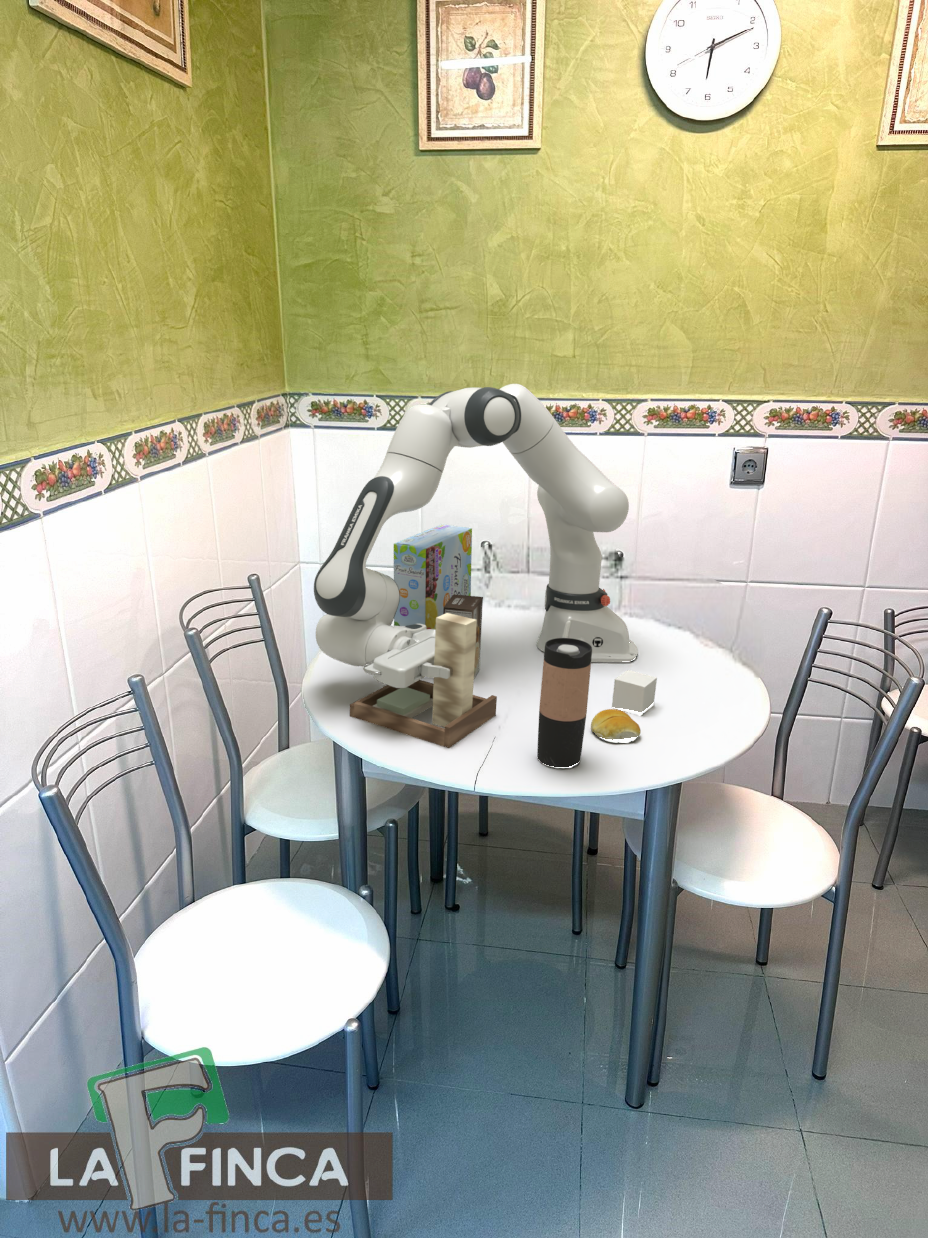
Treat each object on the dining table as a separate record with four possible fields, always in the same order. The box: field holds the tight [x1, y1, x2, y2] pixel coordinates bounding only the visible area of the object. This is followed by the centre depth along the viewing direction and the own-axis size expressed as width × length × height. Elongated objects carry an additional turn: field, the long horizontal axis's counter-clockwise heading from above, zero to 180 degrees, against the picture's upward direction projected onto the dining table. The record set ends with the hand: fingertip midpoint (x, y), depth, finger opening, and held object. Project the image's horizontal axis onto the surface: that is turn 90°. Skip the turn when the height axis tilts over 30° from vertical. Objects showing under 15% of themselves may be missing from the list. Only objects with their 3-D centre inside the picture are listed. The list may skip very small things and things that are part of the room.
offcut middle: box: [373, 698, 433, 719], centre depth 155 cm, size 7×10×1 cm
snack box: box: [393, 523, 473, 630], centre depth 183 cm, size 22×9×26 cm, turn 154°
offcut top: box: [377, 687, 430, 715], centre depth 154 cm, size 6×8×1 cm
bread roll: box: [590, 708, 641, 740], centre depth 150 cm, size 8×9×4 cm
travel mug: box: [536, 638, 592, 767], centre depth 137 cm, size 8×8×20 cm
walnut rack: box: [349, 679, 498, 749], centre depth 152 cm, size 21×16×4 cm
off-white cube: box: [611, 669, 658, 712], centre depth 160 cm, size 6×6×6 cm
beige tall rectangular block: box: [431, 613, 477, 728], centre depth 147 cm, size 6×4×20 cm, turn 59°
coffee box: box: [443, 594, 484, 680], centre depth 169 cm, size 9×6×16 cm
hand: (458, 669), depth 146 cm, fingers closed on beige tall rectangular block, 3 cm apart
